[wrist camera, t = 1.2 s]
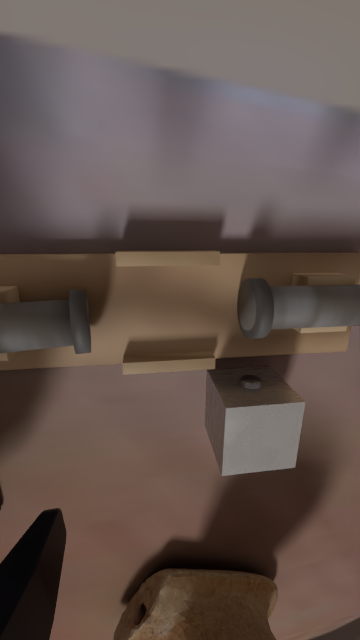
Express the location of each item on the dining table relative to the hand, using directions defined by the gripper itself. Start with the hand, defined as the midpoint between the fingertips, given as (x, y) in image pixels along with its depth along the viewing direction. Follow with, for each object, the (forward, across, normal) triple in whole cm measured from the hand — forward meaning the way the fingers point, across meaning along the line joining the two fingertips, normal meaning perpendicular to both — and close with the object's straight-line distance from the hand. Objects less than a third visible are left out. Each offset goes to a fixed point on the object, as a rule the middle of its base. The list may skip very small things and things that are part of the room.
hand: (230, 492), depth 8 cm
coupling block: (+13, -5, +6) cm, 15 cm away
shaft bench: (+13, +1, -2) cm, 13 cm away
